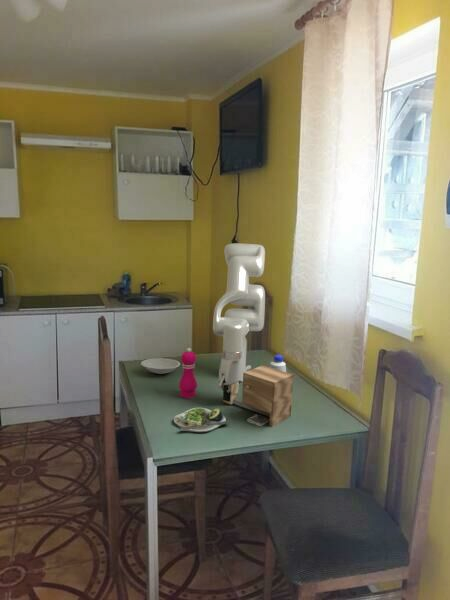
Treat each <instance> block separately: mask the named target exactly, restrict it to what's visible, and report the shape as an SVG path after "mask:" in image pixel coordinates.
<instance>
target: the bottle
mask: <svg viewBox="0 0 450 600" xmlns="http://www.w3.org/2000/svg"><path fill="white" fill-rule="evenodd" d="M286 365H287V364H286V362H285V361H284V356H283V355H281V354H276V355H275V356H274V357H273V361H270V364H269V367H270V368H273V369H277V370H280V371H284V372H287V366H286Z"/></svg>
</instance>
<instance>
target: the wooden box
mask: <svg viewBox="0 0 450 600" xmlns="http://www.w3.org/2000/svg"><path fill="white" fill-rule="evenodd" d="M294 376H295V375H294V374H293V373H289V372H287V371H286V372H284V371H280V370H277V369H273V368H270V366H266V365H263V364H262V365H260V366H258V367H255V368H251V369H249V370H247V371H246V372H244V373H243V381H242V394H241V401H242V404H245V405H248V406H250V407H253V408H256V409H259V410H261V411H264V412H267V413H270V417H269V418H270V422H269V427H274V426H276V425H278V424H279V423H281V422H282V421H285V420H287V419H289V418H291V415H292V403H293V401H292V400H293V387H294Z"/></svg>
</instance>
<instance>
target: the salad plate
mask: <svg viewBox="0 0 450 600" xmlns="http://www.w3.org/2000/svg"><path fill="white" fill-rule="evenodd" d="M184 419H186V420H187V424H186V423H183V421H184ZM230 422H231V421H230V420H227V418H226V417H225V415H223V413H222V410H221V409H220V408H217V407H216V408H214V409H212V410H211V409H210V408H209V409H208V408H206V407H193V408H192V407H191V408H190V409H187V410H186V411H183V412H182V413H180V414H177V415H175V416H174V418H173V423H174V424H175V425H176V426H178V428H179V431H182V432H185V431H186V432H192V433H207V432H211V431H213V430H216V429H218V428H220V427H222V426H224V425H226V424H227V425H228V424H230Z"/></svg>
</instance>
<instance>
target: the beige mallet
mask: <svg viewBox="0 0 450 600" xmlns="http://www.w3.org/2000/svg"><path fill="white" fill-rule="evenodd" d="M226 387H227V385H226ZM229 392H231V393H230V401H229V402H228V401H225V400H223V399H222V402H223V403H225V404H227V405H228V404H229V405H233V404H234V405H237V406H238V407H242V408H244V409H248V410H250V411H253V412H254V413H255V412H256V413H257V414H260V415H262V416H265V417H268V418H270V413H267V412H264V411H261V410H259V409H256V408H253V407H250V406H248V405H245V404H242V400H241V399H238V398H239V388H238V382H235V383H233V384H231V385H230V391H229Z"/></svg>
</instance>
